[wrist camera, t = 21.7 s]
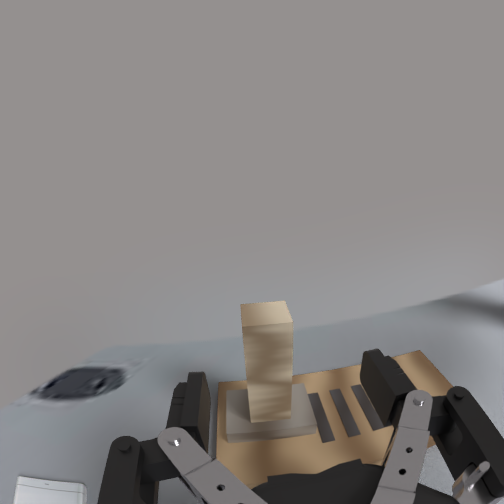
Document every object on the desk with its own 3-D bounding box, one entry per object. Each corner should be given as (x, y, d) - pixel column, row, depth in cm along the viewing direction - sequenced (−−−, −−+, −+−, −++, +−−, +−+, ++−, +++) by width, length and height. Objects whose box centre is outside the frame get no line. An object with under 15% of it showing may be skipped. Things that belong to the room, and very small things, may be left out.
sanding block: (303, 392, 28) (307, 292, 25) (315, 433, 22) (327, 326, 19) (228, 400, 28) (214, 300, 24) (228, 442, 22) (209, 337, 19)
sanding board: (417, 358, 32) (419, 349, 32) (472, 425, 19) (478, 415, 18) (220, 391, 31) (218, 381, 31) (218, 492, 18) (215, 485, 17)
